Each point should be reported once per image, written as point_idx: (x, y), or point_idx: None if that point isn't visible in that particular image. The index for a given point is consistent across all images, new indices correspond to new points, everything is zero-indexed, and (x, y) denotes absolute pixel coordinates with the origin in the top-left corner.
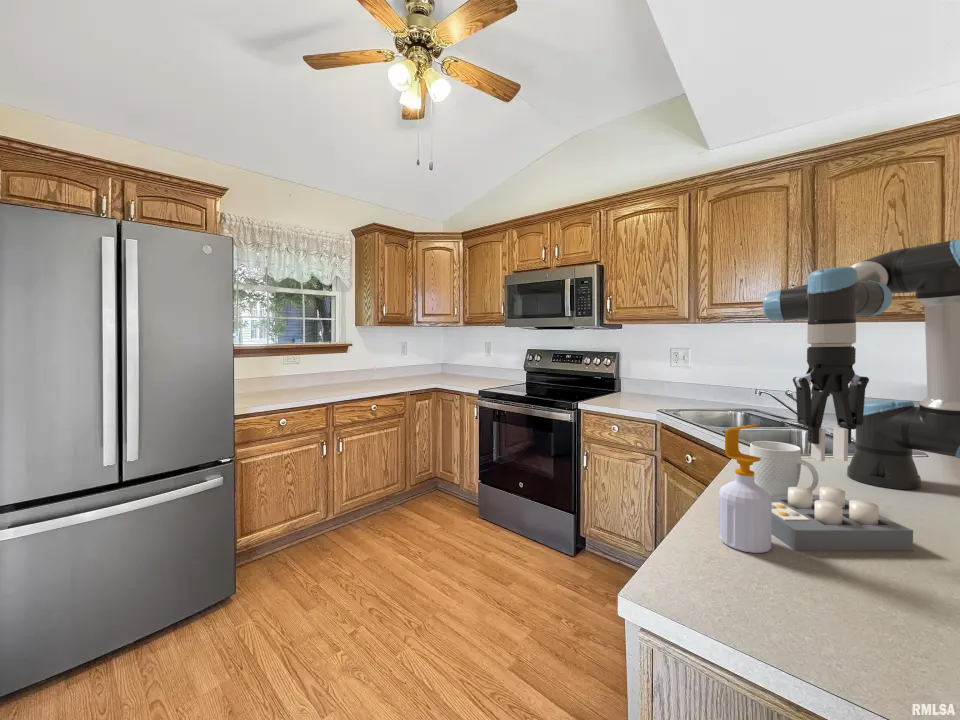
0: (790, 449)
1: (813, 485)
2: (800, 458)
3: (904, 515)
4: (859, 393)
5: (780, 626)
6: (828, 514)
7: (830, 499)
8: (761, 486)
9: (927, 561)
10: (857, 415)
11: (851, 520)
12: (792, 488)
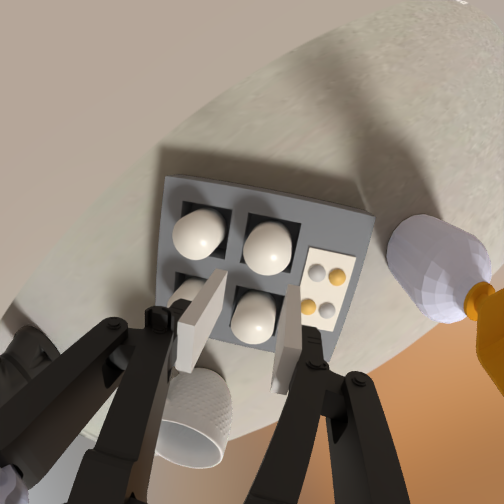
0: None
1: None
2: None
3: (87, 274)
4: (27, 420)
5: (500, 91)
6: (285, 233)
7: None
8: (230, 395)
9: (192, 143)
10: (106, 346)
11: (230, 230)
12: (258, 337)
